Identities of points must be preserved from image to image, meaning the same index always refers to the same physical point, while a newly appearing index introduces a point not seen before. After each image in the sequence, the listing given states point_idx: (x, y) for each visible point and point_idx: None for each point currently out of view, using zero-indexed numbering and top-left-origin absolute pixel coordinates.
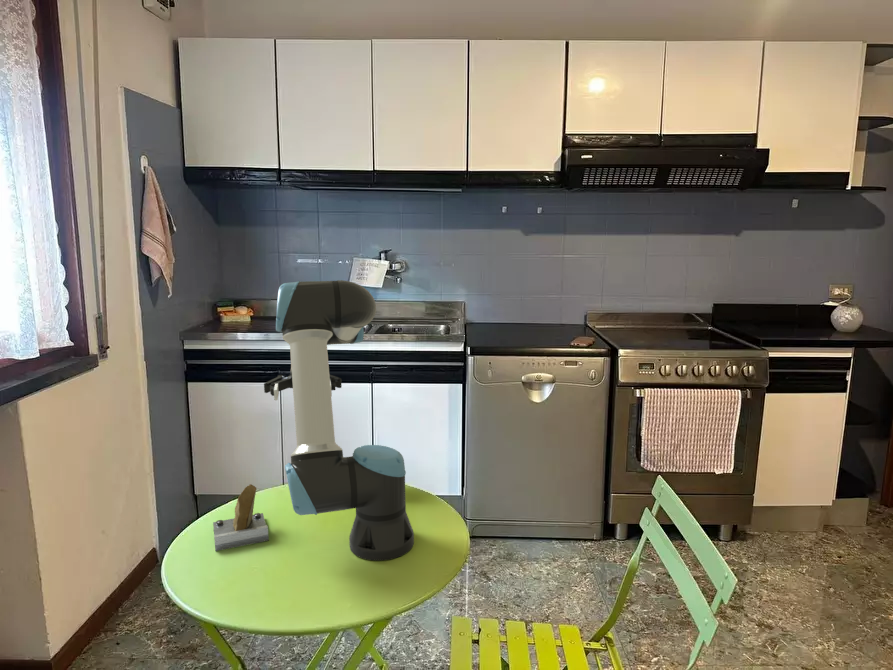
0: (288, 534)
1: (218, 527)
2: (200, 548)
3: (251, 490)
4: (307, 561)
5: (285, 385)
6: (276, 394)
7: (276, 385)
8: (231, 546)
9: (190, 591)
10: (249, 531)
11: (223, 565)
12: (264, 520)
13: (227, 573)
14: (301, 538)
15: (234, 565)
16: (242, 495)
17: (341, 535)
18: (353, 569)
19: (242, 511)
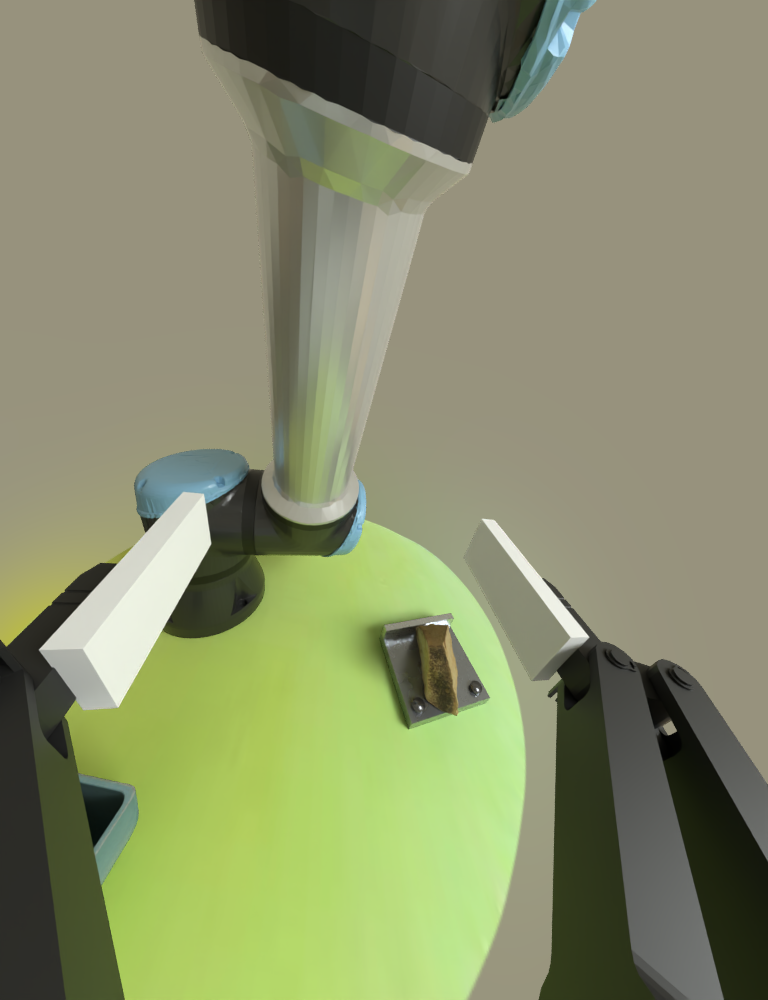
0: (351, 651)
1: (469, 674)
2: (468, 637)
3: (433, 638)
4: (323, 580)
5: (575, 809)
6: (476, 537)
7: (539, 587)
8: None
9: (433, 563)
10: (408, 621)
11: (420, 594)
12: (399, 685)
13: (409, 580)
14: (330, 634)
15: (407, 591)
16: (443, 628)
17: (266, 630)
18: (273, 556)
19: (431, 625)
